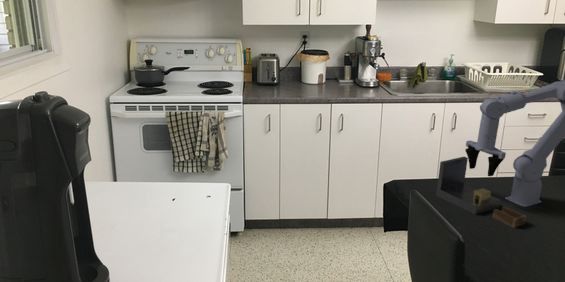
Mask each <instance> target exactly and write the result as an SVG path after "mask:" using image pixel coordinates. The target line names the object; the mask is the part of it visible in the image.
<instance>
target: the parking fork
mask: <svg viewBox="0 0 565 282" xmlns="http://www.w3.org/2000/svg"><path fill="white" fill-rule="evenodd" d="M492 210H493V211H492V217H491V218H493V219H495V220H497V221H498V222H501V223H503V224H505V225H507V226H510V227H511V228H513V229H514V228H518V227H521V226H524V225H526V221H527V215H525V214H523V213H522V212H521V213H520V212H519V211H517V210H514V209H512V208H509V207H508V206H501V210H500V209H499V208H495V209H492Z"/></svg>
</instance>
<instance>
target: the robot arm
mask: <svg viewBox="0 0 565 282" xmlns="http://www.w3.org/2000/svg"><path fill="white" fill-rule="evenodd" d="M550 98H553V99H557V100H558V102H559V103H560V107H561V112H560V113H559V114H558V116H557V117H556V118H555V119H554V121H553V122H552V123H551V124H550V126H549V127H548V128H547V129H546V131H545V132H544V133H543V134H542V136H541V137H539V139H538V140H537V142H536V143H535V144H534V146H533V147H532V148H531V149H528V150H525V151H523V153H522V154H521V155H519V156H517V157H516V158H515V159H514V160H513V163H512V167H513V169H514V171H515V173H514V177H513V183H512V188H511V193H510V194H511V195H510V196H506V197H505V198H504V199H505V200H507V201H510V202H512V203H514V204H516V205H519V206H521V207H523V208H527V207H530V206H533V205H537V204H541V203H542V200H540V197H541V191H542V187H543V183H542V182H543V181H542V179H541V178H542V177H543V174H544V170H545V169H546V168H547V165H548V164H547V163H548V162H547V159H548V157H549V156H550V155H551V154H552V152H553V151H554V150H555V148H557V146H559V144H560V142H562V140H563V139H564V138H565V79H562V80H559V81H554V82H552V83H550V84H548V85H545V86H542V87H539V88H536V89H533V90H530V91H527V92H524V93H522V92H520V91H515V90H512V91H510V93H507V94H506V95H502V96H500V95H497V96H496V97H495V99H494V98H486V99H484V101H483V102H482V103H481V104H480V105H479V110H480V112H481V118H480V122H479V123H480V124H479V127H478V135H477V140H476V141H474V140H466V143H465V147H467V148H465V150H464V151H465V153H466V156H467V158H468V160H467V161H468V164H469V165H468V167H469V169H470V170H472V169H476V165H477V161H478V157H479V154H480V152H483V153H485V154H489V155H491V156H488V157H487V160H488V170H487V176H488V177H493V176H494V175H495V172H496V170H497V169H498V167H499V166H500V164H501V163H502V162H503V161H504V160H505V158H506V154H507V153H506V152H504V151H502V150H500V149H498V148H497V147H495V146H496V144H497V143H496V142H497V136H498V130H499V127H500V126H499V125H500V118H502V117H503V116H504V115H506V114H508V113H511V112H515V111H519V110H522V109H524V108H525V107H526V105H527V104H530V103H533V102H534V103H535V102H538V101H542V100H546V99H550Z"/></svg>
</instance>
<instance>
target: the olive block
mask: <svg viewBox="0 0 565 282" xmlns="http://www.w3.org/2000/svg"><path fill="white" fill-rule="evenodd" d="M491 194H492V191H490V190H488V189H486V188H483V187H482V188H480V189H479V188H478V189H477V190H475V191H474V196H473V200H477V199H478V201H479V202H480V203H482V202H486V201H489V200H490V195H491ZM491 196H492V195H491Z"/></svg>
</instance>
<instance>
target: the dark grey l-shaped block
mask: <svg viewBox="0 0 565 282" xmlns="http://www.w3.org/2000/svg"><path fill="white" fill-rule="evenodd" d="M468 161H469V160H468V156H467V157H466V156H461V157H457V158H456V157H455V158H451V159H447V160H441V161H440V163H439V169H438V170H439V171H438V178H437V179H438V180H437V186H436V187H437V188H436V193H435V195H436V197H438V198H440V199H442V200H443V201H447V202H449V203H450V204H452V205H455V206H457V207H459V208H460V209H462V210H465V211H467V212H469V213H471V214H473V215H478V214H482V213H485V212H488V211H492V210H494V209H499V208H500V207H501V206H500V205H501V199H500V198H498V197H495V196H493V195H490V200H489V201H486V202H482V203H480V202H479V201H478V199H477V200H473V196H474V191H475V190H478V189H477V188H475V187H472V186H471V185H468V184H466V183H465V180H466V179H465V178H466V174H467V172H466V171H467V167H468Z"/></svg>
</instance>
